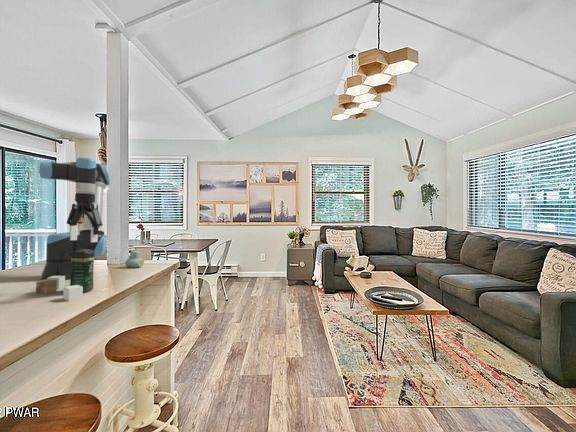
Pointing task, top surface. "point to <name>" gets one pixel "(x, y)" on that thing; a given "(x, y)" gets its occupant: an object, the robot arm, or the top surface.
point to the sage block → (58, 281)
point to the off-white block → (73, 293)
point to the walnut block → (46, 286)
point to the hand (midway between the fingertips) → (83, 241)
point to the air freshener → (134, 260)
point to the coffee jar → (82, 269)
